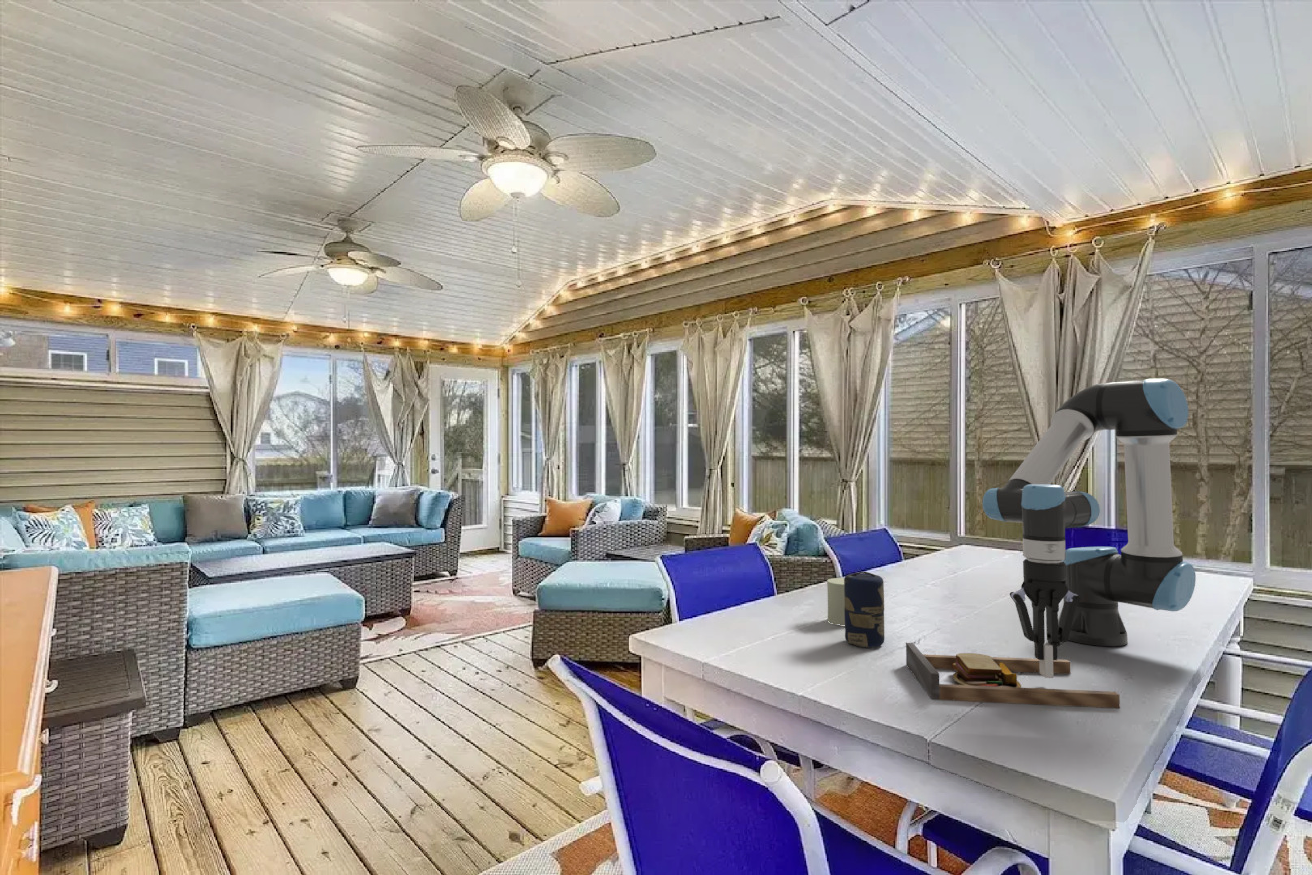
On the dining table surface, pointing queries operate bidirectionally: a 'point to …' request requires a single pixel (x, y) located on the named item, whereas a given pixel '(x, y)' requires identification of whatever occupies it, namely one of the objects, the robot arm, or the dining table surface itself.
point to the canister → (864, 609)
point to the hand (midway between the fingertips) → (1046, 675)
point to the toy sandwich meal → (982, 671)
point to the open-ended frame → (929, 680)
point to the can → (836, 601)
